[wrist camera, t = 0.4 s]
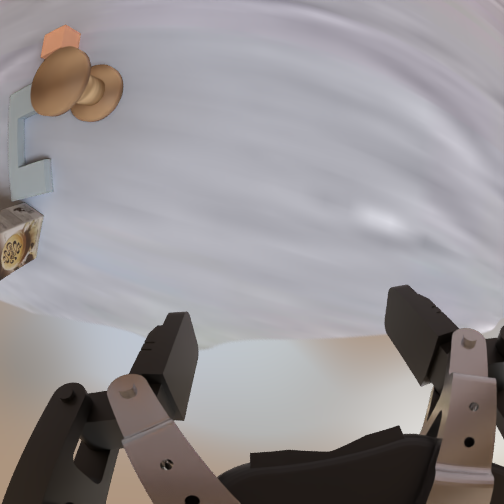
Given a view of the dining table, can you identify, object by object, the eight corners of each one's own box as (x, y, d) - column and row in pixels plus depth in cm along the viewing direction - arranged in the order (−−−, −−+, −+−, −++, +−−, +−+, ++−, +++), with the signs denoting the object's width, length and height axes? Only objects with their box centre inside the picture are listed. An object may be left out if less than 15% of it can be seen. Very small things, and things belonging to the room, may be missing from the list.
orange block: (60, 42, 27) (44, 35, 22) (80, 33, 27) (65, 24, 22) (57, 63, 28) (40, 57, 24) (77, 55, 28) (61, 47, 24)
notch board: (16, 96, 29) (10, 95, 27) (52, 78, 29) (45, 76, 27) (18, 199, 36) (11, 201, 34) (53, 191, 36) (46, 193, 34)
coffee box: (37, 259, 39) (-20, 296, 24) (17, 243, 38) (-40, 275, 23) (45, 215, 37) (-21, 243, 22) (23, 200, 36) (-41, 223, 21)
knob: (76, 76, 30) (34, 61, 19) (124, 60, 30) (88, 36, 19) (74, 127, 33) (28, 124, 22) (122, 114, 33) (82, 103, 22)
